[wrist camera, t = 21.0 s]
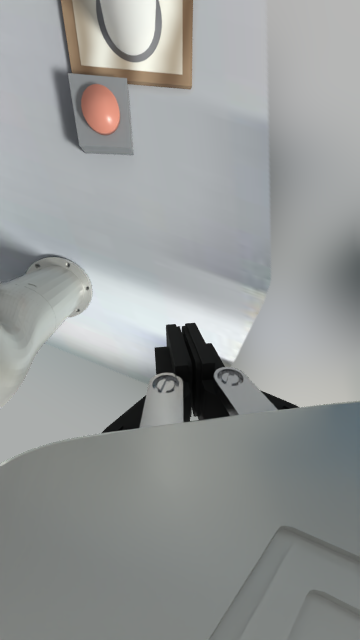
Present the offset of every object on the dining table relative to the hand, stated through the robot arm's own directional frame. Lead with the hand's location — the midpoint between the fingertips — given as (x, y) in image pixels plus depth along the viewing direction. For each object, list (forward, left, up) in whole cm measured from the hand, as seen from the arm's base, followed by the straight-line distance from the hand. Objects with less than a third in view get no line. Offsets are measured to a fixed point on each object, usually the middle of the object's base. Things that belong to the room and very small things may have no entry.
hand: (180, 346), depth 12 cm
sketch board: (-2, +34, -35) cm, 49 cm away
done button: (-7, +22, -34) cm, 41 cm away
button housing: (-7, +22, -35) cm, 42 cm away
